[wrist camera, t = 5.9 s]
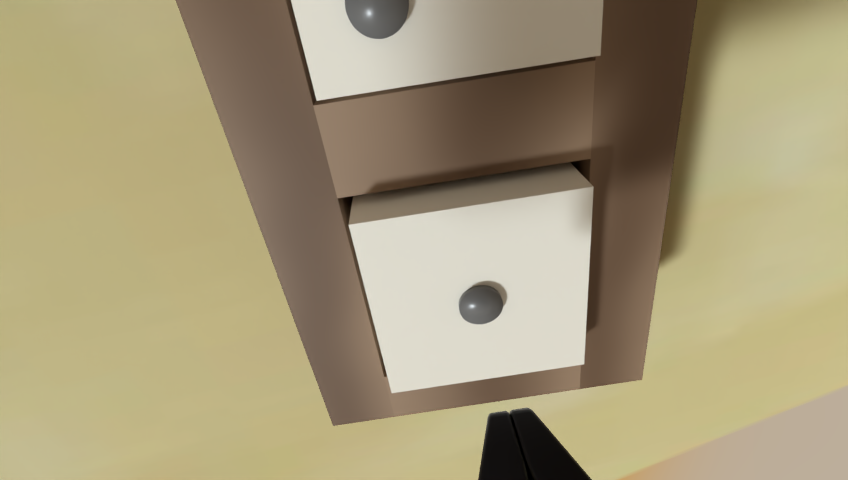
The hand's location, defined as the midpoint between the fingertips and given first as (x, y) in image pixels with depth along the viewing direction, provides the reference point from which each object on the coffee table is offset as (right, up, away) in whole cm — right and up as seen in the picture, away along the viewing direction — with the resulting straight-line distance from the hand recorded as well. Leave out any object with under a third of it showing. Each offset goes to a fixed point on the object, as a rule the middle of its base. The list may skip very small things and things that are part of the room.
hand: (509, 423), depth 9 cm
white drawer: (0, +3, +6) cm, 7 cm away
